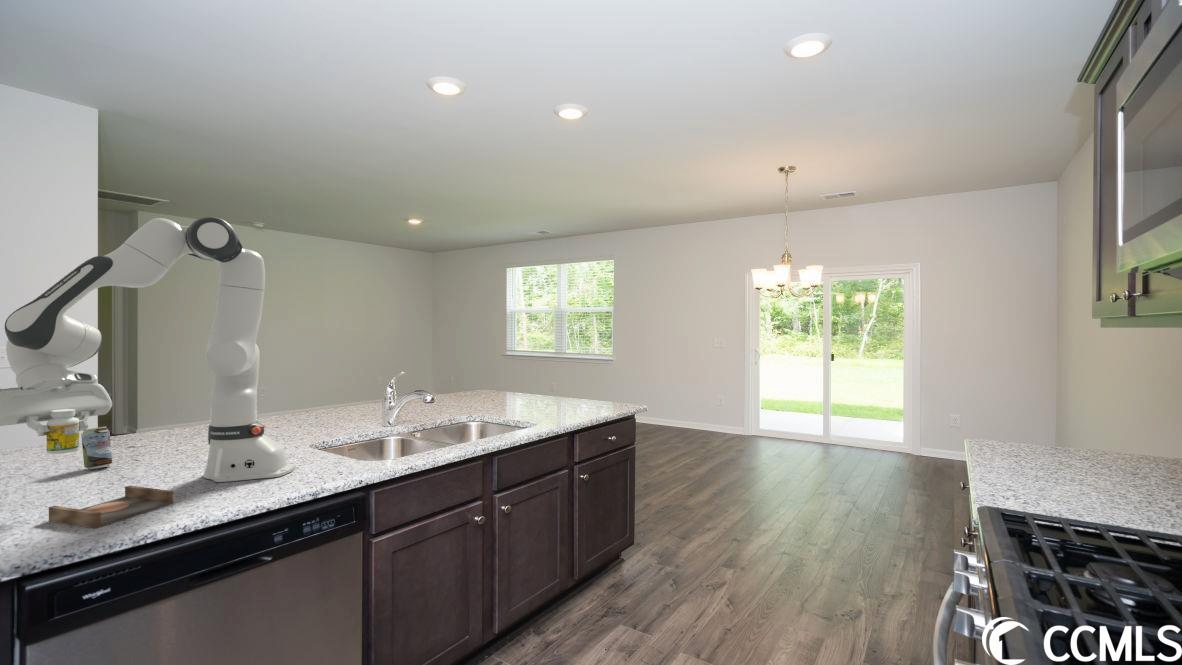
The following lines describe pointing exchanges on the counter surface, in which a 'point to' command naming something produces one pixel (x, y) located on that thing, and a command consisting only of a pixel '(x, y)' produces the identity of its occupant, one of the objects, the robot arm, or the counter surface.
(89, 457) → the beverage can
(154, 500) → the walled bay
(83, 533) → the counter surface
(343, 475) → the counter surface
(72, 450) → the supplement bottle
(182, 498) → the counter surface
